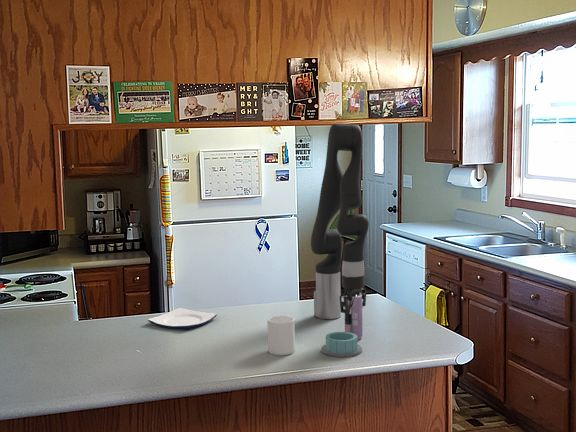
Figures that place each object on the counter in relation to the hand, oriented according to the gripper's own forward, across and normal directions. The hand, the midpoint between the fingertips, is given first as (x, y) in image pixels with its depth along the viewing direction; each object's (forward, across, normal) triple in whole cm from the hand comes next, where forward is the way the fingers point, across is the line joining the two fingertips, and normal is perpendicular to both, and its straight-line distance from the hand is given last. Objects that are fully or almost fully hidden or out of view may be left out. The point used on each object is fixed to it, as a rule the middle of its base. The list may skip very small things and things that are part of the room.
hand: (353, 321), depth 243 cm
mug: (+6, +24, -13) cm, 28 cm away
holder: (+6, +14, +4) cm, 15 cm away
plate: (+6, +18, -63) cm, 66 cm away
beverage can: (+6, 0, 0) cm, 6 cm away
